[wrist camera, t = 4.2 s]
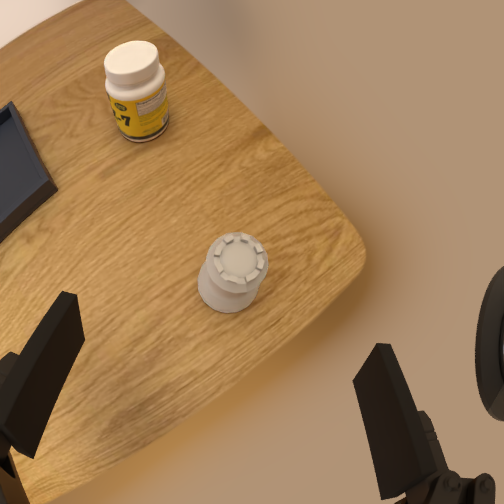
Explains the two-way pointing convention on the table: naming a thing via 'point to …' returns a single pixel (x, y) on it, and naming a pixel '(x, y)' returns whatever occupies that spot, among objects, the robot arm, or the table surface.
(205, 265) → the rook chess piece
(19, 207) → the dark tray
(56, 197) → the table surface
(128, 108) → the supplement bottle
